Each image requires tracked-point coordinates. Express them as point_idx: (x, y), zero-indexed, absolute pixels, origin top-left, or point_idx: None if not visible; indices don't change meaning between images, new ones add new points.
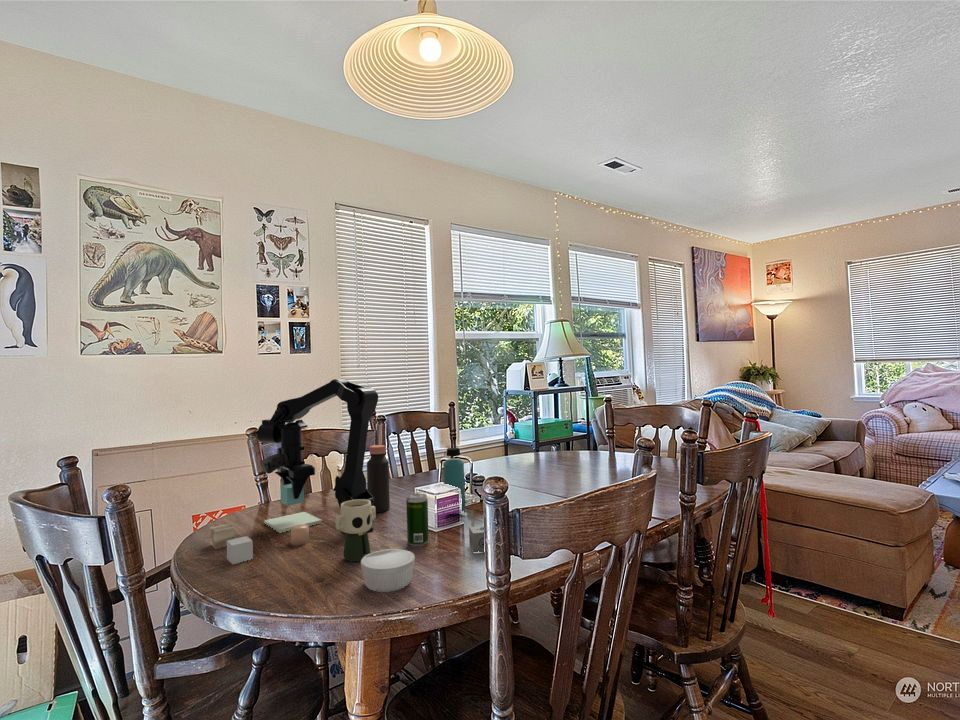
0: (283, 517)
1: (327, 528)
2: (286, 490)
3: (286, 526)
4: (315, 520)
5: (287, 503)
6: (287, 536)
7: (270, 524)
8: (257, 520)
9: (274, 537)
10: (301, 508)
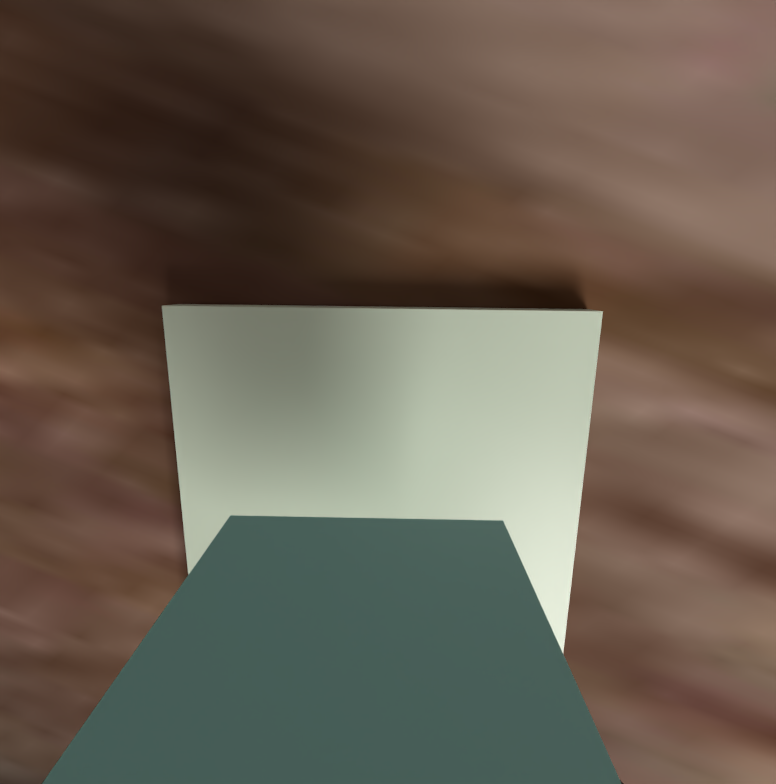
0: (539, 485)
1: (49, 623)
2: (104, 738)
3: (221, 391)
4: None
5: (217, 538)
6: (46, 318)
7: (422, 309)
8: (768, 303)
9: (93, 220)
10: (765, 716)
